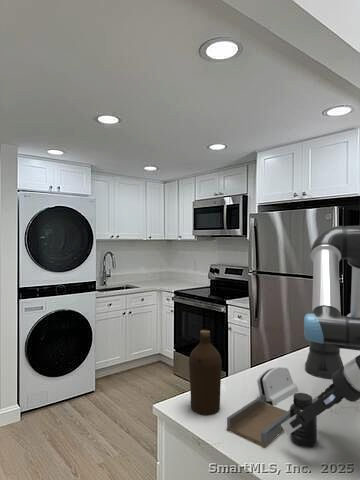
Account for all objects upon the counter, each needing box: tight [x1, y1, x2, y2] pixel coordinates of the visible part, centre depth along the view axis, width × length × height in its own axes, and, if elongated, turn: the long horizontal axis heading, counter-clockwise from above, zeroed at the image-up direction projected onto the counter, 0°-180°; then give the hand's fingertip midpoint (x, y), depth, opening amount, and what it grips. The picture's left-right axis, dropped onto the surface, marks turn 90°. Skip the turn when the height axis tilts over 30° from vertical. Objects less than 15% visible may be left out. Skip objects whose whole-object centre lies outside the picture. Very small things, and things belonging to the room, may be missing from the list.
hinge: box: [256, 366, 299, 406], centre depth 118 cm, size 17×5×10 cm, turn 132°
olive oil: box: [188, 329, 223, 416], centre depth 109 cm, size 11×11×25 cm
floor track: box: [226, 395, 290, 448], centre depth 99 cm, size 20×12×4 cm, turn 136°
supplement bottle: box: [289, 392, 318, 448], centre depth 90 cm, size 7×7×12 cm
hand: (295, 419), depth 92 cm, fingers open, 13 cm apart
